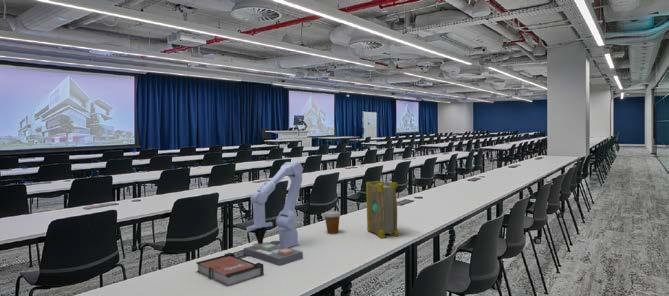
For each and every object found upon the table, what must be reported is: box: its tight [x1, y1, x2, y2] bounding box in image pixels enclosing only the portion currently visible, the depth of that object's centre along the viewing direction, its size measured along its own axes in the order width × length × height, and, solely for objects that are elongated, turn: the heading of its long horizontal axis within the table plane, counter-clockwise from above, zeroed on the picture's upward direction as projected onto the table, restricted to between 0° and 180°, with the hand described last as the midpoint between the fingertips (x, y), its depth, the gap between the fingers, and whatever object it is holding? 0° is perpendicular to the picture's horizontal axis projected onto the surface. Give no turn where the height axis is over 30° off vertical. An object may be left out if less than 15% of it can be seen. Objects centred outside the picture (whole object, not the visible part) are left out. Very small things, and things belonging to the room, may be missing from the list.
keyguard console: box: [243, 242, 304, 267], centre depth 200 cm, size 14×28×3 cm, turn 46°
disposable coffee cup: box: [324, 210, 341, 235], centre depth 243 cm, size 10×10×12 cm
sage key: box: [261, 243, 276, 251], centre depth 202 cm, size 5×5×2 cm
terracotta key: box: [278, 248, 293, 256], centre depth 193 cm, size 5×5×2 cm
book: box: [196, 252, 265, 287], centre depth 177 cm, size 26×18×5 cm
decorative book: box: [365, 180, 400, 239], centre depth 236 cm, size 20×11×30 cm, turn 21°
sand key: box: [253, 241, 267, 249], centre depth 207 cm, size 5×5×2 cm
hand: (260, 243), depth 207 cm, fingers closed
